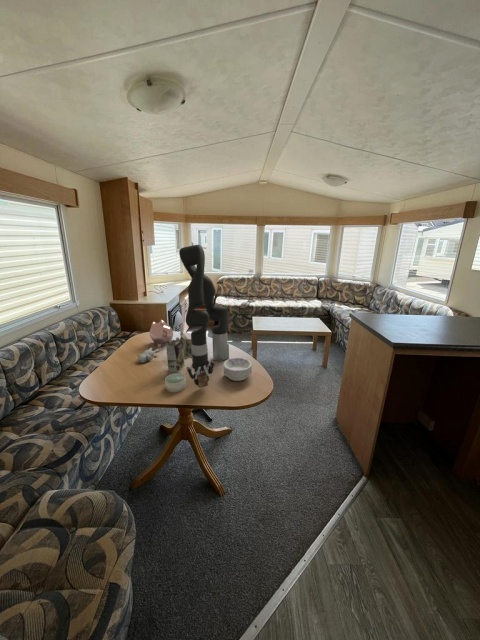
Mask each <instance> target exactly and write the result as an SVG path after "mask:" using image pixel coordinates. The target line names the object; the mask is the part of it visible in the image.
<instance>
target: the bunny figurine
mask: <svg viewBox="0 0 480 640" xmlns="http://www.w3.org/2000/svg"><path fill="white" fill-rule="evenodd" d="M158 352H159V353H160V349H159V348H155V349H154V350H153V347H149V348H148V349H145V350H143V351H142V353H138V355H137V362H138V363H142V364H145V363H147V361H152V360H153V358H154V356H155V354H156V353H158Z"/></svg>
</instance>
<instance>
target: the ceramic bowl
mask: <svg viewBox="0 0 480 640" xmlns="http://www.w3.org/2000/svg"><path fill="white" fill-rule="evenodd" d="M164 381H165V382H164V383H165V390H166V391H167V392H169V393H178V392H181V391H183V390H185V388H186V387H187V382H186V381H187V380H186V375H185V374H184V373H180V372H172V373H169V375H167V376H166V377H164Z"/></svg>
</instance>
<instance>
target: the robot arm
mask: <svg viewBox="0 0 480 640" xmlns="http://www.w3.org/2000/svg"><path fill="white" fill-rule="evenodd" d="M178 253H179V257H180V261H181V262H182V265H183V266H184V268H185V269H186V271H187V273H188V274H189V276H190V278H191V280H190V282H189V285H188V289H187V293H188V295H187V296H188V297H187V298H188V304H187V305H188V307H187V311H186V315H185V324H186V325H187V326H188V327H189V328H193V327H200V328H198V329H195V330H192V331H191V332H190V339H191V343H192V345H191V351H192V357H191V365H190V366H187V367H186V368H185V369H186V370H187V373H188V375H189V377H190V378H191V380H193V383H194V384H195V386H197V385H198V379H197V378H198V375H199V372H201V371H204V372H205V373H206V374H207V380H208V382H209V380H210V377H209V376H210V375H212V374H213V371H214V367H215V362H214V361H218V362H220V361H227V360H228V359H230V346H229V345H230V344H229V342H228V327H229V326H228V325H229V310H228V308H227V307H226V306H219V305H216V304H215V302H214V299H215V297H216V287H215V285H214V282H213V280H212V279H211V278H210V277H209V276H208V275H207V274H205V267H206V266H205V265H206V255H205V249H204V248H203V246H202V245H201V244H194V245H189V246H184V247H181V248H180V249H179V252H178ZM202 306H204V308H205V310H195V309H197V308H200V307H202ZM210 320H211V322H217V323H219V324H218V325H215V326H213V327H212V330H211V335H212V337H211V338H212V358H213V360H214V361H213V360H210V361H209V354H208V353H209V351H208V350H209V349H208V344H207V343H208V342H207V341H208V340H207V330H208V325H209V321H210Z"/></svg>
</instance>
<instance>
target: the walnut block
mask: <svg viewBox="0 0 480 640" xmlns="http://www.w3.org/2000/svg"><path fill="white" fill-rule="evenodd" d="M197 379H198V385H196V386H197V387H198V389H201V388H205V387H208V386H209V383H208V382H209V381H208V380H207V374H206V373H205V372H204V371H201V372H199V375H198V378H197Z"/></svg>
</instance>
